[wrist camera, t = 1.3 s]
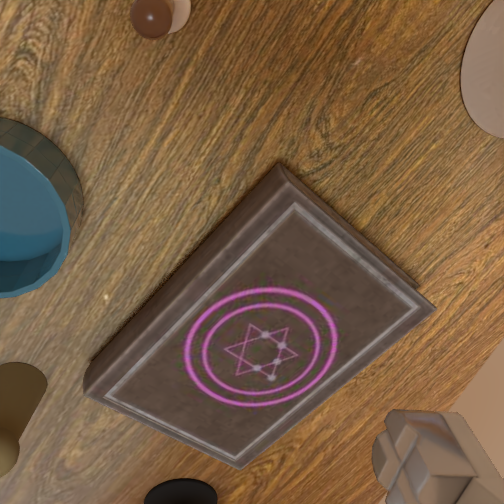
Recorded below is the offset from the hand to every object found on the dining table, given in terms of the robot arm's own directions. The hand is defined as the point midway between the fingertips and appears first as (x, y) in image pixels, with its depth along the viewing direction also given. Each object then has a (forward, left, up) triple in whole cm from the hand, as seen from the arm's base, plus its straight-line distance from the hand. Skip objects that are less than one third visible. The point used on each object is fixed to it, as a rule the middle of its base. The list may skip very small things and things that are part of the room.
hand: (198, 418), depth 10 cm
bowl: (+19, +3, -35) cm, 40 cm away
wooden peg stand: (-1, -6, -35) cm, 36 cm away
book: (+3, +26, -35) cm, 44 cm away
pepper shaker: (+30, +23, -35) cm, 52 cm away
